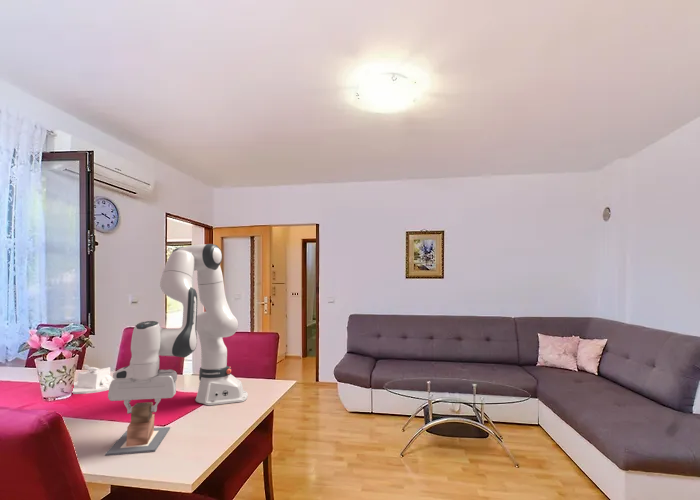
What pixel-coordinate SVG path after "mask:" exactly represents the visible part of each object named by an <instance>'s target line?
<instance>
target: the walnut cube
mask: <svg viewBox="0 0 700 500" xmlns="http://www.w3.org/2000/svg"><path fill="white" fill-rule="evenodd" d="M153 405H154V402H153V401H150V402H149V401H147V402H136V403H135V404H134V405H133V406H131V407H132V412H131V413H130V414H131V415H130V423H131V424H134V423H148V421H149V420H150V419H151V418H152V414H153V412H151V407H152V406H153Z"/></svg>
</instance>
